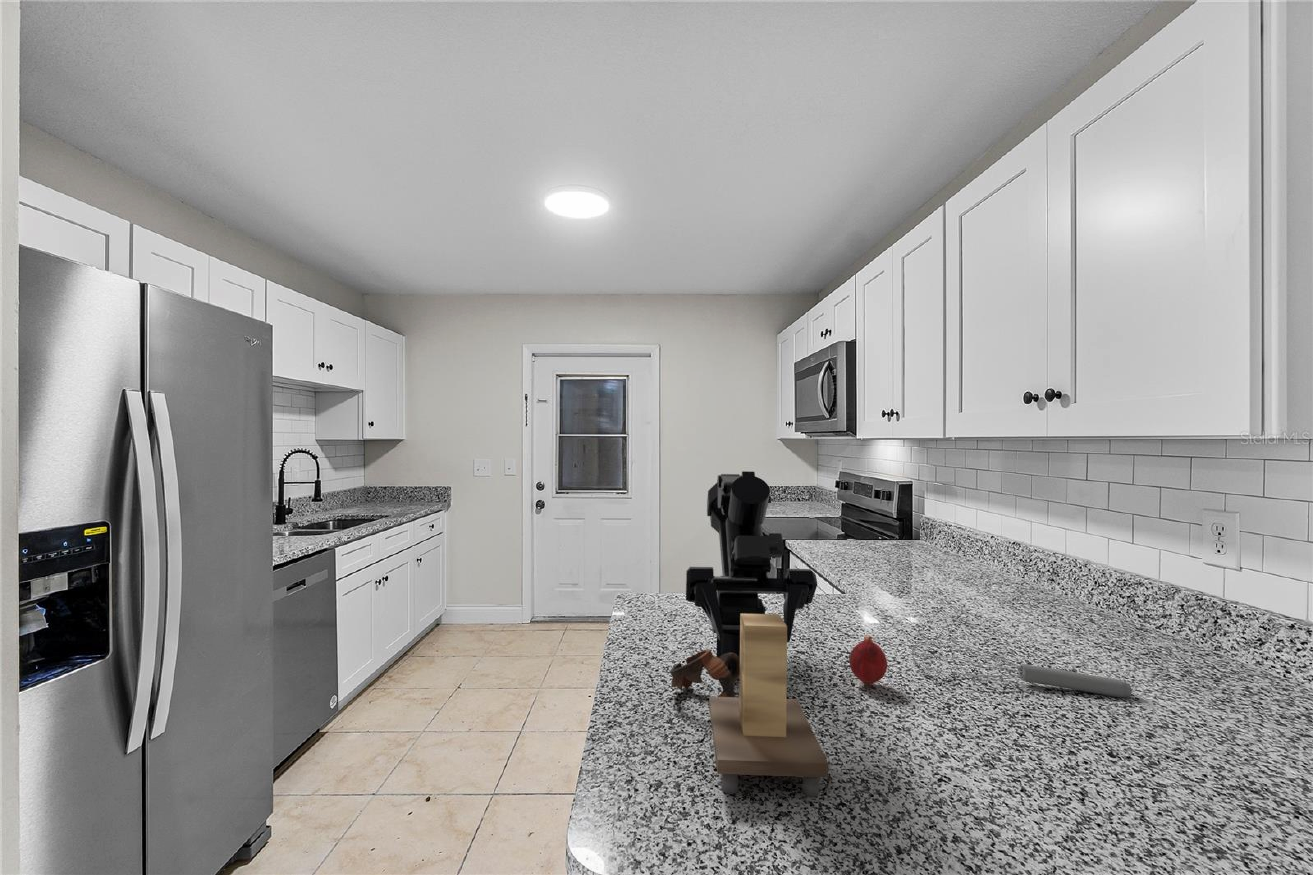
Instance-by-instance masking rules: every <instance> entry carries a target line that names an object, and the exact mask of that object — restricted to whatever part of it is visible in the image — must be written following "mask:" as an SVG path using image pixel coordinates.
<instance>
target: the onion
mask: <svg viewBox="0 0 1313 875" xmlns="http://www.w3.org/2000/svg"><path fill="white" fill-rule="evenodd" d="M848 662H849V666H850V669H851V671H852V673H853V675H854V676H855V678H856V679H858V680H859V681H860V682H861V683H863V685H864V686H866V687H867V686H872V685H873V684H876V683H877V682H878V681H881V679H883V677H884V676H885V674H887V670H888V660H887V657H886V655H885V653H884V650H882V648H881V647H880V646H879V645H878V644H876V643H875V642H873V637H872V636H870V635H868V634H867V635H865V636H864V639H863V641H861V642H859V643H857V644H856V645H855V646H854V647H853V648H852V649H851V651H850V654H849V660H848Z"/></svg>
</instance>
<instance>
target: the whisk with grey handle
mask: <svg viewBox="0 0 1313 875" xmlns="http://www.w3.org/2000/svg"><path fill="white" fill-rule="evenodd" d="M924 640H942V641H948V642H953V643H955V644H956V643H957V644H960V645H964V646H967V647H964V646H960V645H955V644H952V643H951V644H950V643H945V642H940V645H938V642H935V641H932V642H931V641H930V642H924V643H920V644H918V643H919V642H921V641H924ZM933 644H934V646H937V647H940V648H941V647H942V648H947V649H952V650H955V651H956V650H957V651H960V652H964V653H968V654H970V655H971V654H972V655H975V656H977V657H982V658H985V659H988V660H991V661H993V662H998V663H1001V664H1003V665H1007V666H1009V667H1013V668H1015V669H1013V668H1007V667H1003V666H997V665H993V664H987V663H982V662H977V661H972V660H967V659H966V660H965V659H961V658H954V657H949V656H945V655H936V654H930V653H929V654H928V653H924V652H915V651H916V649H917V648H918V647H920V646H933ZM945 645H946V646H945ZM947 645H949V646H954V648H953V647H949V646H947ZM955 647H957V648H955ZM968 647H969V648H968ZM958 648H962V649H958ZM972 648H973V649H972ZM963 649H966V650H963ZM975 649H976V650H975ZM967 650H968V651H967ZM969 651H972V652H969ZM981 651H982V652H981ZM973 652H975V653H973ZM983 652H984V653H983ZM977 653H979V654H977ZM910 654H911V657H912V661H913V664H914V665H915V666H916V668H917V669H918V670H919V671H921V672H922V673H924V674H926V675H928V676H931V677H934V678H936V677H937V676H936V675H932V674H929V673H927V672H925V671H929V672H933V673H935V671H936V672H941V673H946V674H954V675H961V676H970V677H972V678H973V677H974V678H981V677H983V678H990V677H991V678H994V679H977V680H976V679H975V680H974V679H972V680H967V681H970V682H987V681H988V682H990V681H1001V680H1009V679H1017V678H1019V679H1020V680H1021V681H1023V682H1028V683H1032V684H1033V683H1034V684H1039V685H1045V686H1046V685H1047V686H1052V687H1056V688H1064V689H1068V690H1075V691H1079V692H1085V693H1090V694H1091V693H1092V694H1097V695H1104V696H1108V697H1114V698H1119V699H1120V698H1128V699H1129V698H1131V697H1132V698H1139V697H1142V696H1144V695H1145V693H1146V690H1145V688H1144V687H1142V686H1140V685H1137V684H1135V683H1132V682H1127V681H1122V679H1116V678H1109V677H1104V676H1099V675H1093V674H1086V673H1080V672H1074V671H1068V670H1063V669H1056V668H1051V667H1044V666H1038V665H1034V664H1033V665H1032V664H1026V663H1020V665H1018V664H1016V663H1013V662H1012V661H1009V660H1007V659H1004V658H1002V657H1000V656H997V655H995V654H993V653H991V652H988V651H986V650H982V649H980V648H977V647H974V646H971V645H967V644H966V643H962V642H959V641H955V640H951V639H947V638H940V637H926V638H922V639H919V640H917V642H916V643H914V645H913V646H912V647H911V652H910ZM981 654H982V655H981ZM921 655H923V656H921ZM924 655H925V656H924ZM983 655H984V656H983ZM927 656H934V657H940V658H945V659H952V660H956V661H950V660H945V659H939V658H931V657H927ZM986 656H988V657H986ZM915 657H919V658H925V659H929V660H936V661H942V662H947V663H948V662H949V663H955V664H960V665H967V666H975V667H980V668H985V669H992V670H999V671H1007V672H1011V673H1012V672H1013V673H1018V674H1009V675H1008V674H1007V675H1006V674H1005V675H1004V674H1003V675H1001V674H1000V675H998V674H997V675H996V674H995V675H994V674H993V675H992V674H991V675H988V674H987V675H986V674H985V675H984V674H971V675H970V674H967V673H957V672H955V673H954V672H949V671H945V670H944V671H943V670H938V669H935V668H933V667H928V666H926V665H924V664H922V663H920V662H919V661H917V659H915ZM993 658H994V659H993ZM957 660H958V661H963V662H969V663H974V664H969V663H963V662H957ZM975 664H976V665H975ZM977 664H979V665H977ZM982 665H985V666H982ZM919 667H920V668H921V669H920V668H919ZM922 669H923V670H922ZM924 670H925V671H924ZM998 677H999V678H998ZM1000 677H1002V678H1000ZM1003 677H1005V678H1003ZM995 678H996V679H995ZM1131 685H1133V686H1136V687H1138V688H1141V689H1142V690H1143V693H1142V694H1140V695H1135V696H1132V694H1133V693H1132V687H1131Z"/></svg>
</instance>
